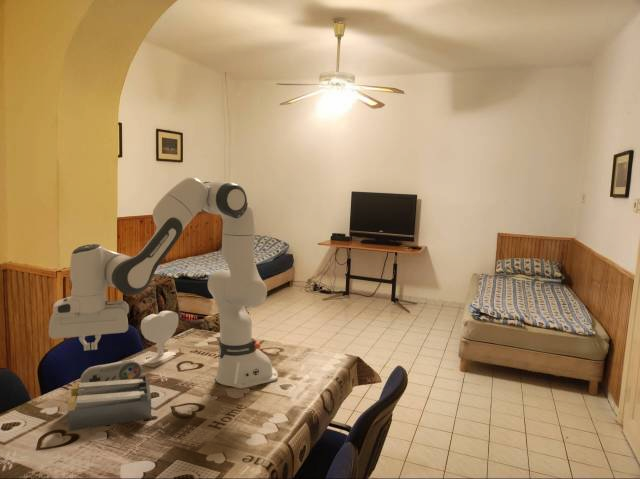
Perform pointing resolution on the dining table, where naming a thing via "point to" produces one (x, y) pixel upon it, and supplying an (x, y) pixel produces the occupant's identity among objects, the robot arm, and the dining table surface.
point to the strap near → (109, 396)
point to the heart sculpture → (159, 332)
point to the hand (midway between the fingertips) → (90, 349)
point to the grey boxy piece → (108, 406)
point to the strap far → (109, 384)
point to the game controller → (112, 372)
